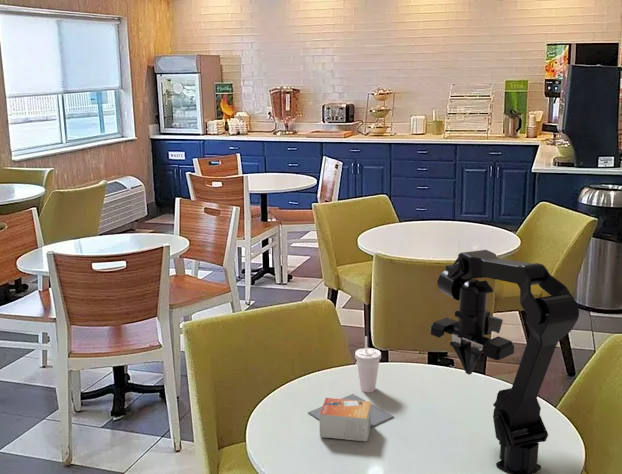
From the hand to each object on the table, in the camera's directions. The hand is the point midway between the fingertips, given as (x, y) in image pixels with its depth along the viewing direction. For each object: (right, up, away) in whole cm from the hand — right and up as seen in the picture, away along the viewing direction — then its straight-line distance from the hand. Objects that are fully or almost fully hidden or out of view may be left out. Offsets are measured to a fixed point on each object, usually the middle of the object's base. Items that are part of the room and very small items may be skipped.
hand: (469, 373), depth 153 cm
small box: (-22, -10, -2) cm, 24 cm away
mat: (-26, -11, +7) cm, 29 cm away
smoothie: (-21, -8, +19) cm, 29 cm away
